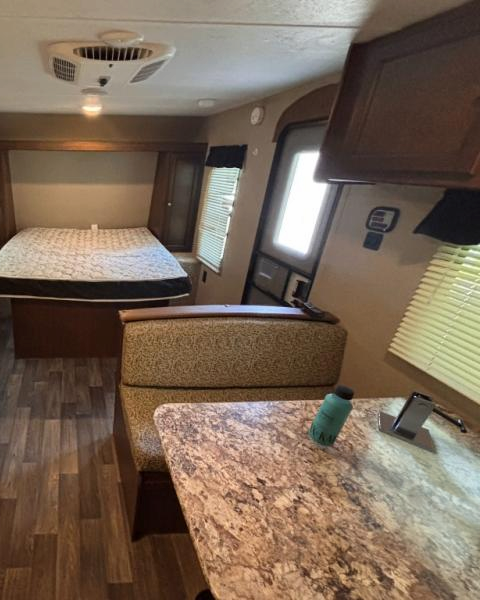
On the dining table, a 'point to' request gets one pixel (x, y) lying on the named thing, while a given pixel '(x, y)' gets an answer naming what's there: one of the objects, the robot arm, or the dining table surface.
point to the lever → (448, 417)
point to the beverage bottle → (332, 416)
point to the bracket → (410, 421)
